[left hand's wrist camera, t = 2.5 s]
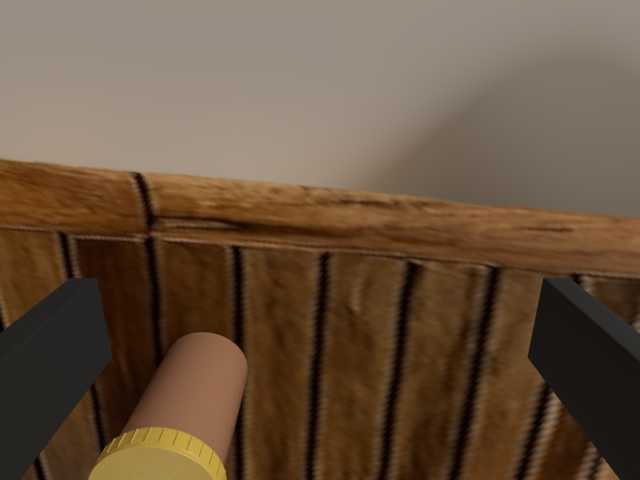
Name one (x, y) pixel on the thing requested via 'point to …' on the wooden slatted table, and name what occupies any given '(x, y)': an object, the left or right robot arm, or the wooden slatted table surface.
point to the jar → (196, 391)
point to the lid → (157, 457)
